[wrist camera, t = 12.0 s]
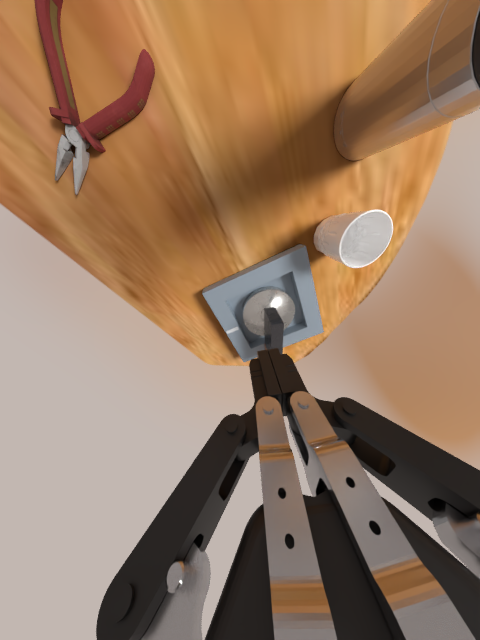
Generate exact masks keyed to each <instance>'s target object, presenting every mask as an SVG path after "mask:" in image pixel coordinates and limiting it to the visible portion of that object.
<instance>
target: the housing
mask: <svg viewBox="0 0 480 640" xmlns="http://www.w3.org/2000/svg"><path fill="white" fill-rule="evenodd" d="M266 286H274V287H278V288H280V289H282V290H284V291H285V292H286V293H287V294H288V295H289V296H290V298H291V299H292V300H293V302H294V305H295V315H294V318H293V320H292V322H291V323H290V325H289V326H288V327H287V328H286V329H285V330H284V333H283V347H286V346H288V345H291V344H294V343H296V342H299V341H302V340H304V339H307V338H309V337H312V336H315V335H317V334H320V333H323V332H324V331H323V326H322V321H321V316H320V311H319V307H318V302H317V297H316V292H315V287H314V282H313V278H312V273H311V268H310V263H309V258H308V253H307V249H306V246H305V245H302V244H298V245H296V246H294V247H292V248H290V249H288V250H285V251H283V252H281V253H279V254H277V255H275V256H272V257H270V258H268V259H266V260H264V261H262V262H260V263H257V264H255V265H253V266H251V267H249V268H247V269H244V270H242V271H240V272H238V273H236V274H234V275H232V276H229V277H227V278H225V279H223V280H221V281H219V282H216V283H214V284H212V285H210V286H208V287H206V288H204V289H203V292H202V294H203V296H204V298H205V299H206V301H207V303H208V304H209V306H210V308H211V309H212V311H213V312H214V314H215V316H216V317H217V319H218V321H219V322H220V324H221V326H222V327H223V329H224V331H225V332H226V334H227V336H228V337H229V339H230V340H231V342H232V344H233V345H234V347H235V349H236V350H237V352H238V354H239V355H240V357H241V359H242V360H243V362H246V361H249V360H251V359H254V358H257V351H260V350H265V336H260V335H257V334H254V333H252V332H251V331H250V330H249V329H248V328H247V327H246V326H245V324H244V320H243V315H242V307H243V304H244V301H245V300H246V298H247V297H248V296H249V295H250V294H251V293H252V292H253V291H255V290H257V289H259V288H262V287H266Z"/></svg>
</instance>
